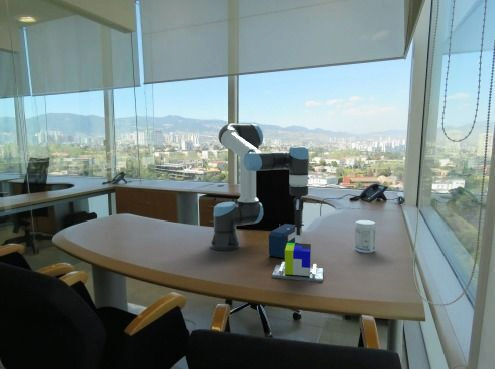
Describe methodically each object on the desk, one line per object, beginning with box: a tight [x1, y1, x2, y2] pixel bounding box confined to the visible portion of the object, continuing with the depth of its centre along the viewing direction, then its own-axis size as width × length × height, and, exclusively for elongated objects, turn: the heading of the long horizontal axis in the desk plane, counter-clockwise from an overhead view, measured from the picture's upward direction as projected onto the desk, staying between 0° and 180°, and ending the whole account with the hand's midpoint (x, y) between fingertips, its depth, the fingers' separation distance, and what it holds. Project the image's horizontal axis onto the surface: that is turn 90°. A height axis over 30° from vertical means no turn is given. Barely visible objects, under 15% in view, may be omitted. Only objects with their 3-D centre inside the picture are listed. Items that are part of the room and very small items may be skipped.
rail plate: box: [271, 261, 324, 283], centre depth 132 cm, size 20×11×3 cm, turn 76°
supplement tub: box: [354, 219, 376, 254], centre depth 159 cm, size 10×10×15 cm
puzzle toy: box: [284, 243, 312, 276], centre depth 131 cm, size 10×10×10 cm
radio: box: [268, 223, 295, 259], centre depth 158 cm, size 21×9×20 cm, turn 148°
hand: (298, 242), depth 130 cm, fingers closed
